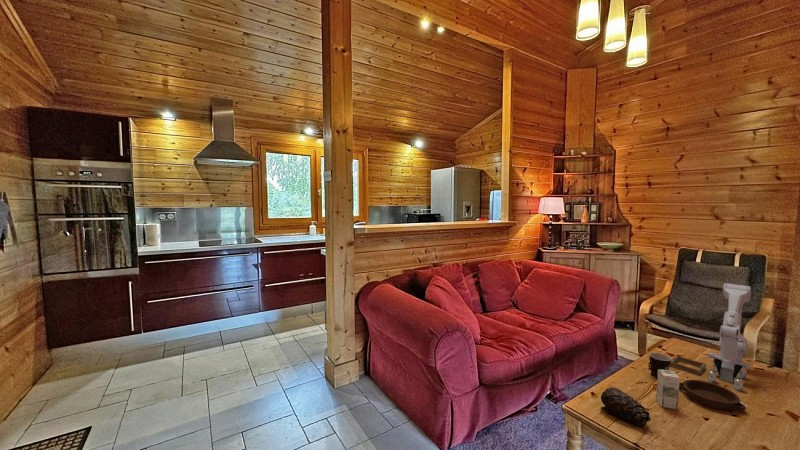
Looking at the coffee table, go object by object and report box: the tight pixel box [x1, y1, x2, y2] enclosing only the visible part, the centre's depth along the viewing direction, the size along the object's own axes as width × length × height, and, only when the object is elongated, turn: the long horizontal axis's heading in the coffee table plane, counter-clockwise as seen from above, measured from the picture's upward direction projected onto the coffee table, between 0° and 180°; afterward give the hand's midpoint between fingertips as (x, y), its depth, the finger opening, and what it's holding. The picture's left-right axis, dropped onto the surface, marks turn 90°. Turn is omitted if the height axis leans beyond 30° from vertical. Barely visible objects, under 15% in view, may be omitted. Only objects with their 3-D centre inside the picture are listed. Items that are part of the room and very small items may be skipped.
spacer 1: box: [707, 369, 718, 384], centre depth 159 cm, size 3×3×5 cm
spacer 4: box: [733, 377, 745, 393], centre depth 152 cm, size 3×3×5 cm
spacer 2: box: [712, 359, 718, 373], centre depth 169 cm, size 3×3×5 cm
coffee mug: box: [648, 352, 672, 379], centre depth 164 cm, size 12×9×10 cm
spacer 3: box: [736, 367, 748, 381], centre depth 162 cm, size 3×3×5 cm
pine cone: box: [600, 386, 652, 431], centre depth 134 cm, size 10×18×10 cm, turn 36°
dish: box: [679, 379, 747, 412], centre depth 144 cm, size 18×22×5 cm
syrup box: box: [655, 369, 681, 411], centre depth 141 cm, size 6×6×14 cm
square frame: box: [669, 355, 707, 376], centre depth 172 cm, size 12×12×2 cm
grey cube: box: [719, 367, 734, 384], centre depth 160 cm, size 4×4×5 cm
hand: (727, 376), depth 160 cm, fingers closed on grey cube, 4 cm apart
